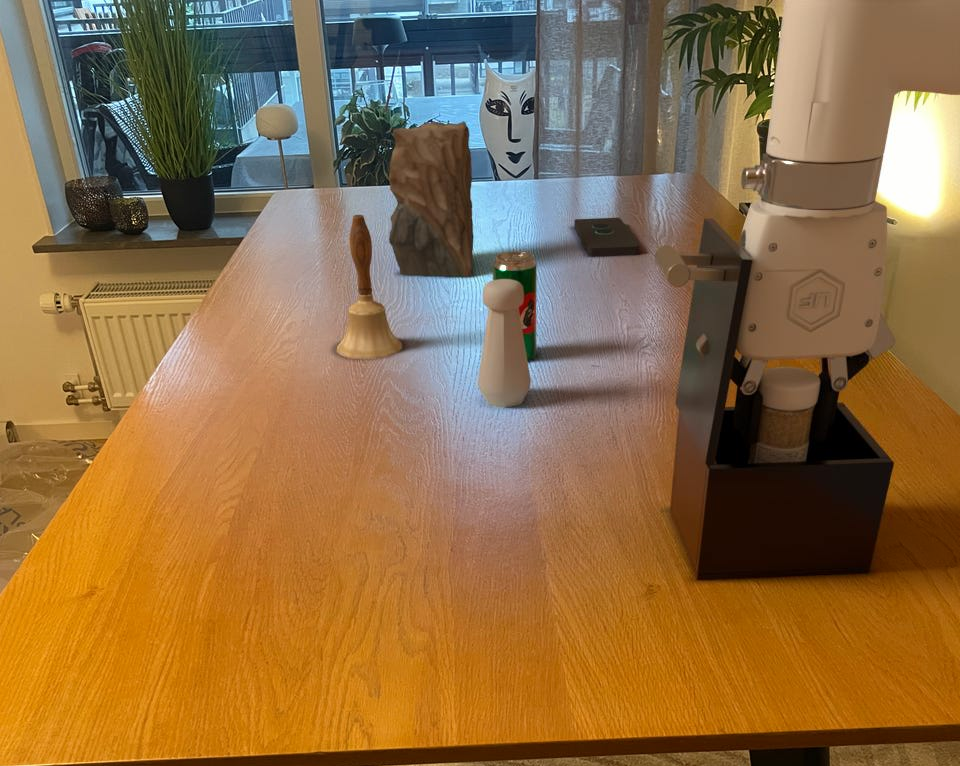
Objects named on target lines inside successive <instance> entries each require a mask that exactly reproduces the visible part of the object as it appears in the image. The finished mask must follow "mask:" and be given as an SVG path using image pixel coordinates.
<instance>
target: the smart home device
mask: <svg viewBox="0 0 960 766" xmlns="http://www.w3.org/2000/svg"><path fill="white" fill-rule="evenodd" d="M573 224H574V227H573V228H574V231H575V233H576V235H577V237H578V238H579V241H580V242H581V245H582V246H583V248H584V250H585V252H586V254H587V256H588V257H590V258H599V257H600V258H602V257H603V258H604V257H624V256H626V257H627V256H639V253H640V244H639V242H638V241H637V239H636V238H635V237H634V235H633V234H632V233H631V231H630V229H629V228H628V227H627V226H626V224H625V223H624V221H623V220H622V219H621V217H598V218H576V219H574V223H573Z"/></svg>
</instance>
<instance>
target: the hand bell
mask: <svg viewBox="0 0 960 766" xmlns="http://www.w3.org/2000/svg"><path fill="white" fill-rule="evenodd" d="M349 249H350V254H351V255H350V256H351V258H352V262H353V264H354V267H355V271H356V277H357V293H358V301H356V302H355V303H353V304H351V305H350V306H349V308H348V319H347V328H346V332H345V335H344V336H343V339H342V340H341V341H340V343H339V344H338V345H337V348H336V353H337V354H338V355H340V356H342V357H344V358H348V359H354V360H374V359H381V358H386V357H390V356H392V355H395V354H397V353H399V352H400V351H402V349H403V344H402V341H400V339H399V338H397V337H396V336H395V334H394V333H393V331H392V329H391V327H390V325H389V321H388V318H387V313H386V308H385V306H384V305H383V304H382V303H380V302H378V301H376V300H375V299H374V295H373V287H372V280H371V270H370V269H371V263H372V258H373V243H372V236H371V233H370V230H369V228H368V225H367V223H366V220H365V215H363V214H355V215H352V221H351V226H350V231H349Z"/></svg>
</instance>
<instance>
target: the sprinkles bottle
mask: <svg viewBox="0 0 960 766" xmlns="http://www.w3.org/2000/svg"><path fill="white" fill-rule="evenodd" d="M818 376H819V374H816V373H815V372H814V371H812V370H808V369H806V368H802V367H795V366H776V367H770V368H768V369H765V370H764V373H763V375H762V378H761V380H760V383H759V391H760V393H761V394H762V396H763V402H762V410H761V417H760V424H759V431H758V438H757V442H755V443H754V444H751V449H750V457H749V461H748V464H752V463H777V462H803V461H806V457H807V451H808V445H809V434H810V429H811V422H812V416H813V410H814V408H815V405H816V403H817V401H818V396H819V389H820V378H819V377H818Z"/></svg>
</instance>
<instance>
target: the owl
mask: <svg viewBox="0 0 960 766" xmlns="http://www.w3.org/2000/svg"><path fill="white" fill-rule="evenodd" d="M392 134H393V138H394V140H395V142H394V143H395V144H394V148H393V149H392V153H391V155H390V160H389V164H388V165H389V171H388V183H389V190H390V192H391V193H392V195H393V196H394V198H395V199H396V202H397V203H396V207H395V209H394V211H393V212H392V214H391V216H390V223H391V228H390V231H389V237H388V243H389V245H390V246H391V248H392V251H393V254H394V258H395V260H396V263H397V265H398V269H399V275H402V276H407V277H435V278H437V277H440V278H472V270H473V267H474V261H473V260H474V255H473V251H474V223H473V222H474V221H473V202H472V197H471V190H472V184H473V183H472V182H473V175H472V172H473V171H472V169H473V168H472V155H471V149H470V130H469V127H468V126H467V122H466V121H464V120H463V121H461V122H458V123H451V122H449V123H444V122H439V121H437V122H435V121H431V122H426V123H422V124H421V125H420V126H417V127H415V126H414V127H412V128H407V127H399V128H394V129H393V130H392Z"/></svg>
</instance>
